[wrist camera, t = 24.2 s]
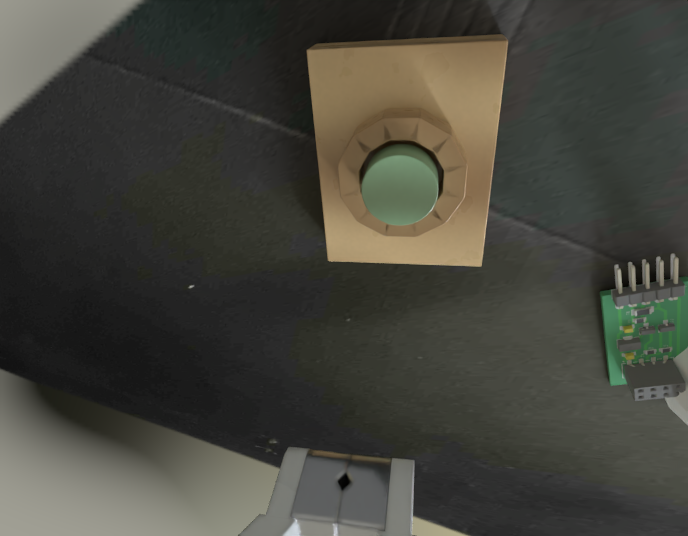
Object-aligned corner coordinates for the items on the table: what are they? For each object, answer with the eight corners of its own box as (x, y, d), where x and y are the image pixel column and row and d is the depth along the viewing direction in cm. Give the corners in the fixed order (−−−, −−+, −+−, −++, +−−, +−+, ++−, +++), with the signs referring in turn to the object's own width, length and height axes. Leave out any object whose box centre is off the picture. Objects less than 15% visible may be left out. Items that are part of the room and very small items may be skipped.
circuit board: (610, 289, 27) (709, 271, 26) (595, 259, 30) (684, 241, 28) (620, 409, 33) (701, 401, 31) (607, 376, 36) (681, 367, 34)
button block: (315, 43, 25) (297, 55, 22) (503, 33, 23) (513, 45, 20) (333, 244, 32) (322, 276, 29) (479, 249, 31) (484, 283, 27)
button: (363, 143, 24) (359, 155, 23) (440, 142, 24) (440, 154, 22) (366, 211, 26) (362, 225, 25) (436, 212, 26) (436, 226, 24)
